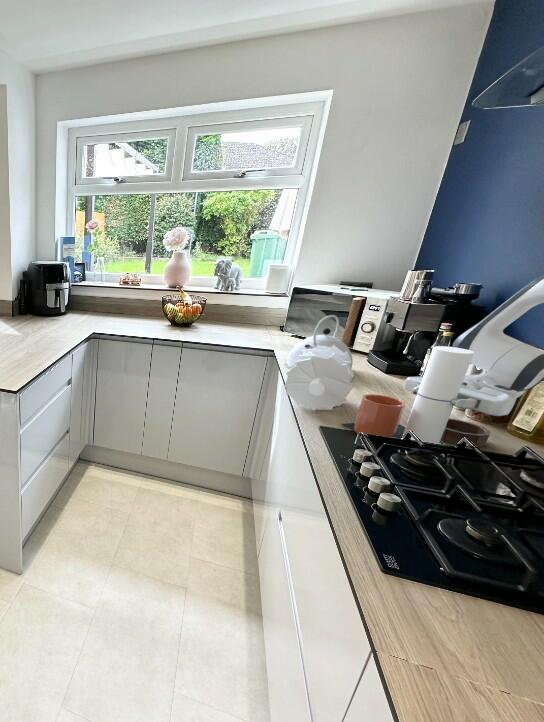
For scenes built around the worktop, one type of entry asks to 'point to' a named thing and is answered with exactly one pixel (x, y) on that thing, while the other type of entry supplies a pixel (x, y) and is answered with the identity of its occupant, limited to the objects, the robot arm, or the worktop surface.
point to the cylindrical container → (438, 392)
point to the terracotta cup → (378, 415)
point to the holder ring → (465, 432)
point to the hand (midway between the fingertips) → (433, 397)
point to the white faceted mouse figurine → (320, 378)
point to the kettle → (319, 343)
